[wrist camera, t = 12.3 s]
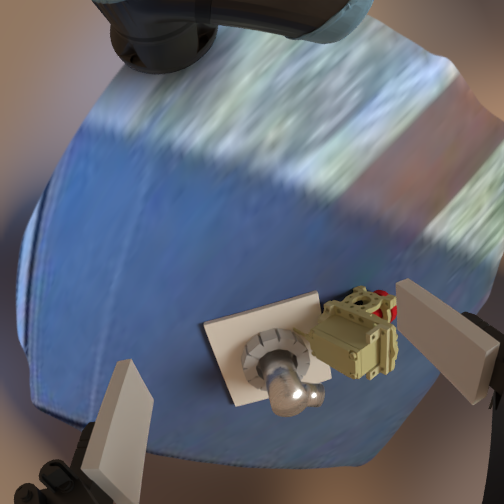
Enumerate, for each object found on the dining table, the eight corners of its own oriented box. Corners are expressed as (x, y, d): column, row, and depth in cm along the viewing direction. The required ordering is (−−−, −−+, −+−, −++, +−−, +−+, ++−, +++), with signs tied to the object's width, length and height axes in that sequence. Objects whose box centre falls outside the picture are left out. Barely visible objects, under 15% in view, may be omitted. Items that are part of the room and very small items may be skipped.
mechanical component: (357, 305, 59) (446, 337, 42) (287, 347, 51) (379, 403, 35) (354, 268, 57) (450, 293, 40) (279, 307, 49) (381, 357, 32)
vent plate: (203, 322, 48) (203, 335, 44) (315, 290, 49) (324, 300, 45) (235, 402, 54) (237, 417, 50) (329, 375, 55) (337, 388, 51)
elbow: (254, 365, 50) (266, 415, 39) (263, 340, 49) (278, 388, 38) (297, 371, 52) (317, 418, 41) (307, 347, 51) (330, 393, 39)
